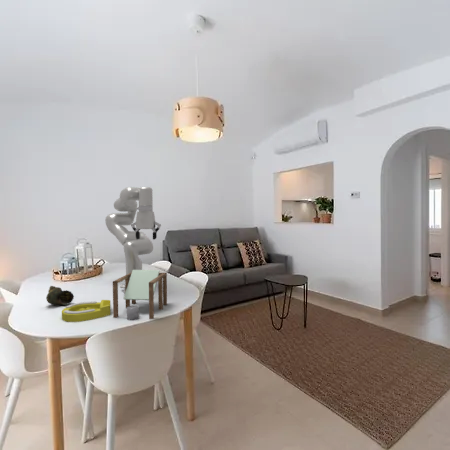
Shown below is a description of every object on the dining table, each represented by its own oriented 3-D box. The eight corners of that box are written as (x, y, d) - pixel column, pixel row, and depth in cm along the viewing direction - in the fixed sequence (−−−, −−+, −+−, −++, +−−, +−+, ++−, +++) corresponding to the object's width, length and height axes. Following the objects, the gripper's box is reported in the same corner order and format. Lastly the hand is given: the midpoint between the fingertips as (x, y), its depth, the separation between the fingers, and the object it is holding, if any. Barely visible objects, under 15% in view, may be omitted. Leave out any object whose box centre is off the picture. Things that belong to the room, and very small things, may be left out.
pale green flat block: (126, 303, 139) (122, 298, 135) (135, 274, 149) (132, 269, 146) (155, 304, 138) (152, 299, 134) (162, 275, 148) (159, 270, 144)
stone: (129, 305, 132) (129, 315, 133) (124, 309, 127) (125, 320, 128) (140, 305, 132) (140, 315, 132) (136, 309, 127) (136, 320, 127)
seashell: (54, 310, 140) (54, 290, 140) (43, 306, 146) (42, 287, 146) (75, 304, 149) (75, 285, 149) (63, 300, 155) (63, 282, 155)
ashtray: (110, 318, 130) (109, 307, 130) (58, 324, 123) (58, 313, 123) (110, 307, 146) (110, 297, 146) (65, 312, 138) (64, 302, 138)
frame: (113, 317, 131) (112, 281, 130) (133, 302, 151) (132, 271, 151) (152, 319, 129) (152, 282, 128) (167, 304, 149) (166, 272, 149)
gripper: (128, 209, 157) (128, 239, 158) (158, 209, 155) (158, 240, 156) (134, 209, 165) (134, 238, 165) (162, 209, 163) (163, 238, 163)
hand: (146, 239), depth 161 cm, fingers open, 9 cm apart
